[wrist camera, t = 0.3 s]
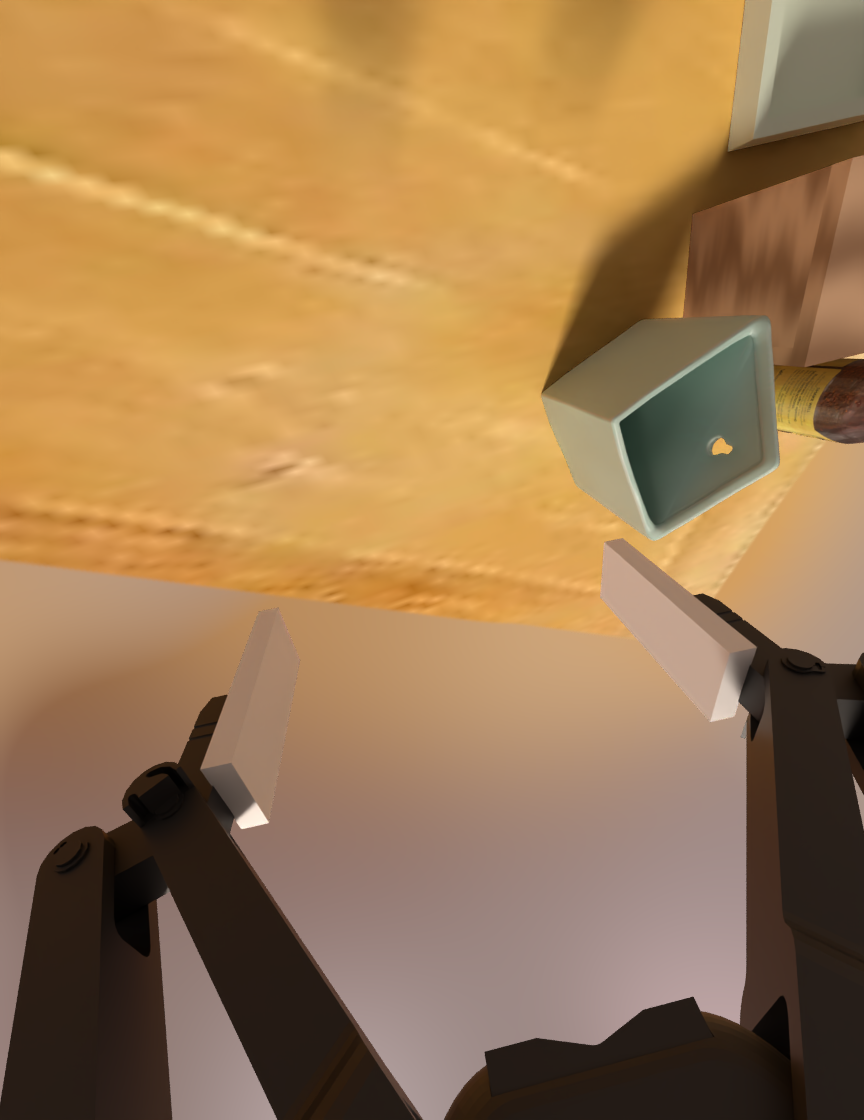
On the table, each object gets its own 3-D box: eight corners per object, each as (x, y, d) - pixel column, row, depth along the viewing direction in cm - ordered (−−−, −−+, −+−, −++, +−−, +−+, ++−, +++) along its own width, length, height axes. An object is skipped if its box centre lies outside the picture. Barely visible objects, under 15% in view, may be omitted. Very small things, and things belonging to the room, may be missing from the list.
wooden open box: (692, 213, 35) (852, 157, 23) (883, 169, 35) (1132, 93, 24) (679, 356, 40) (804, 367, 29) (845, 316, 41) (1032, 311, 29)
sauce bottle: (721, 431, 45) (943, 495, 28) (708, 379, 42) (948, 413, 25) (779, 395, 44) (1048, 438, 27) (770, 338, 41) (1067, 345, 24)
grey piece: (571, 297, 37) (752, 268, 20) (648, 320, 38) (875, 312, 21) (515, 475, 44) (610, 568, 27) (581, 487, 46) (710, 582, 29)
